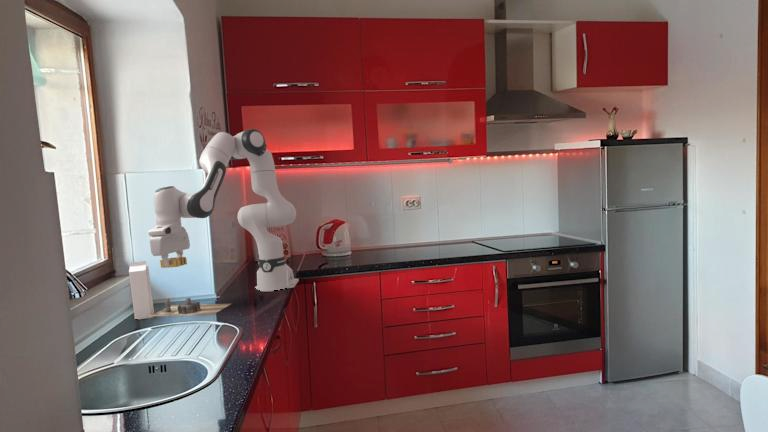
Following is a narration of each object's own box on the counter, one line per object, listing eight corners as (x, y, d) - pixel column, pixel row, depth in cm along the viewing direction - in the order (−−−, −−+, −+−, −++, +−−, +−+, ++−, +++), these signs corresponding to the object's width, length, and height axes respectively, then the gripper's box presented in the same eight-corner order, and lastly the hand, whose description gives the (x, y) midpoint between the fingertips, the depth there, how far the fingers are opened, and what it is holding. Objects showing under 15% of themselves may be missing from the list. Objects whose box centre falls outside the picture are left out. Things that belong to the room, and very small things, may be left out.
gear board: (172, 308, 211) (170, 293, 210) (232, 307, 205) (230, 291, 205) (148, 320, 196) (146, 303, 196) (213, 318, 191) (211, 301, 190)
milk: (151, 317, 199) (144, 262, 197) (134, 320, 198) (127, 263, 196) (154, 313, 205) (147, 259, 203) (137, 316, 204) (131, 261, 202)
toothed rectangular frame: (169, 265, 203) (168, 257, 203) (187, 264, 201) (186, 256, 201) (160, 268, 197) (159, 260, 197) (178, 266, 196) (178, 259, 195)
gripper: (177, 226, 209) (181, 260, 210) (145, 232, 189) (149, 269, 190) (191, 225, 208) (195, 259, 209) (160, 230, 188) (165, 268, 189)
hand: (173, 264), depth 199 cm, fingers closed on toothed rectangular frame, 6 cm apart
